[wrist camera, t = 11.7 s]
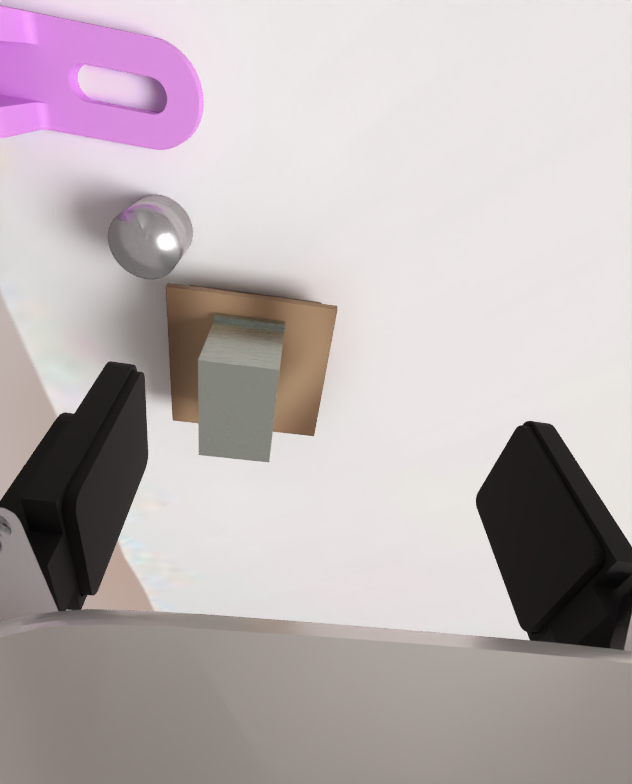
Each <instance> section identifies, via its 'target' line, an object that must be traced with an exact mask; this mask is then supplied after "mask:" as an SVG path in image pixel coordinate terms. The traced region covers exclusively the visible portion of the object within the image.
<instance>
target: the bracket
mask: <svg viewBox="0 0 632 784" xmlns="http://www.w3.org/2000/svg"><path fill="white" fill-rule="evenodd" d="M85 64H87V65H92V66H97V67H102V68H107V69H112V70H117V71H122V72H127V73H132V74H137V75H142V76H147V77H152V78H154V79H156V80H158V81H159V82H160V83H161V84H162V86H163V87H164V89H165V91H166V95H167V104H166V107H165V109H164V110H163V111H162V112H161V113H157V112H152V111H147V110H142V109H136V108H131V107H126V106H121V105H115V104H110V103H105V102H100V101H95V100H92V99H90V98H88V97H87V96H86V95H85V94H84V93H83V92H82V90H81V88H80V86H79V83H78V72H79V69H80V68H81V67H82V66H83V65H85ZM203 102H204V101H203V92H202V87H201V83H200V80H199V77H198V75H197V73H196V71H195V69H194V67H193V65H192V64H191V62H190V61H189V60H188V58H187V57H186V56H185V55H184V54H183V53H182V52H181V51H180V50H179V49H178V48H176V47H175V46H174V45H172V44H170V43H169V42H167V41H164V40H162V39H159V38H155V37H150V36H145V35H141V34H136V33H131V32H126V31H121V30H116V29H112V28H107V27H102V26H97V25H92V24H87V23H83V22H78V21H73V20H68V19H63V18H58V17H54V16H49V15H44V14H39V13H34V12H29V11H25V10H20V9H15V8H10V7H5V6H0V138H4V137H10V136H14V135H19V134H23V133H27V132H31V131H36V130H53V131H58V132H64V133H69V134H74V135H80V136H85V137H91V138H96V139H101V140H107V141H112V142H118V143H123V144H129V145H134V146H139V147H145V148H150V149H157V150H164V149H170V148H173V147H175V146H177V145H179V144H181V143H183V142H184V141H186V140H187V139H189V138H190V137H191V136H192V135H193V133H194V132H195V131H196V129H197V128H198V126H199V123H200V121H201V118H202V113H203Z"/></svg>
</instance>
